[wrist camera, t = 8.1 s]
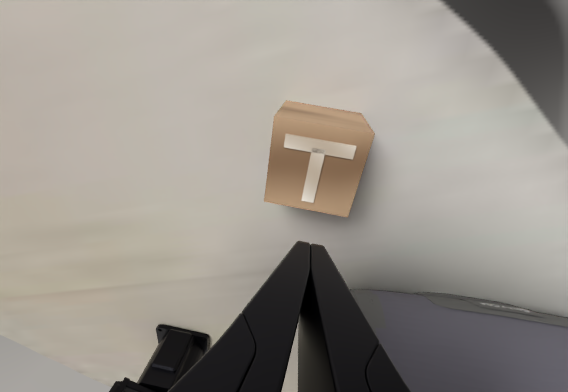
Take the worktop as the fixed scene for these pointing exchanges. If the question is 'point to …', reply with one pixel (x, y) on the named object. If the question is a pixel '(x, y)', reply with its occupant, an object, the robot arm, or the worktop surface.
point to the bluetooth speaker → (468, 342)
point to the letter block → (317, 157)
